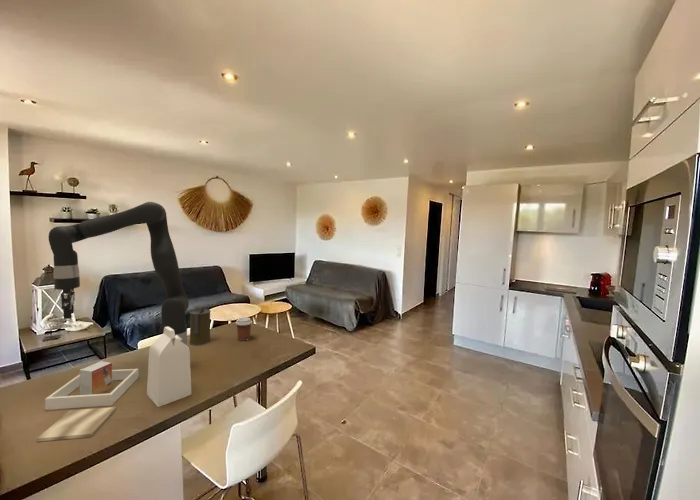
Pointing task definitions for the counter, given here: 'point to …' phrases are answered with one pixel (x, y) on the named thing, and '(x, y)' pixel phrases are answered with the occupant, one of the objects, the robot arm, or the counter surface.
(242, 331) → the coffee cup
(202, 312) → the canister
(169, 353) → the milk
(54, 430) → the board
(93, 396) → the bin
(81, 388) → the small box
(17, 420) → the counter surface
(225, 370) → the counter surface
